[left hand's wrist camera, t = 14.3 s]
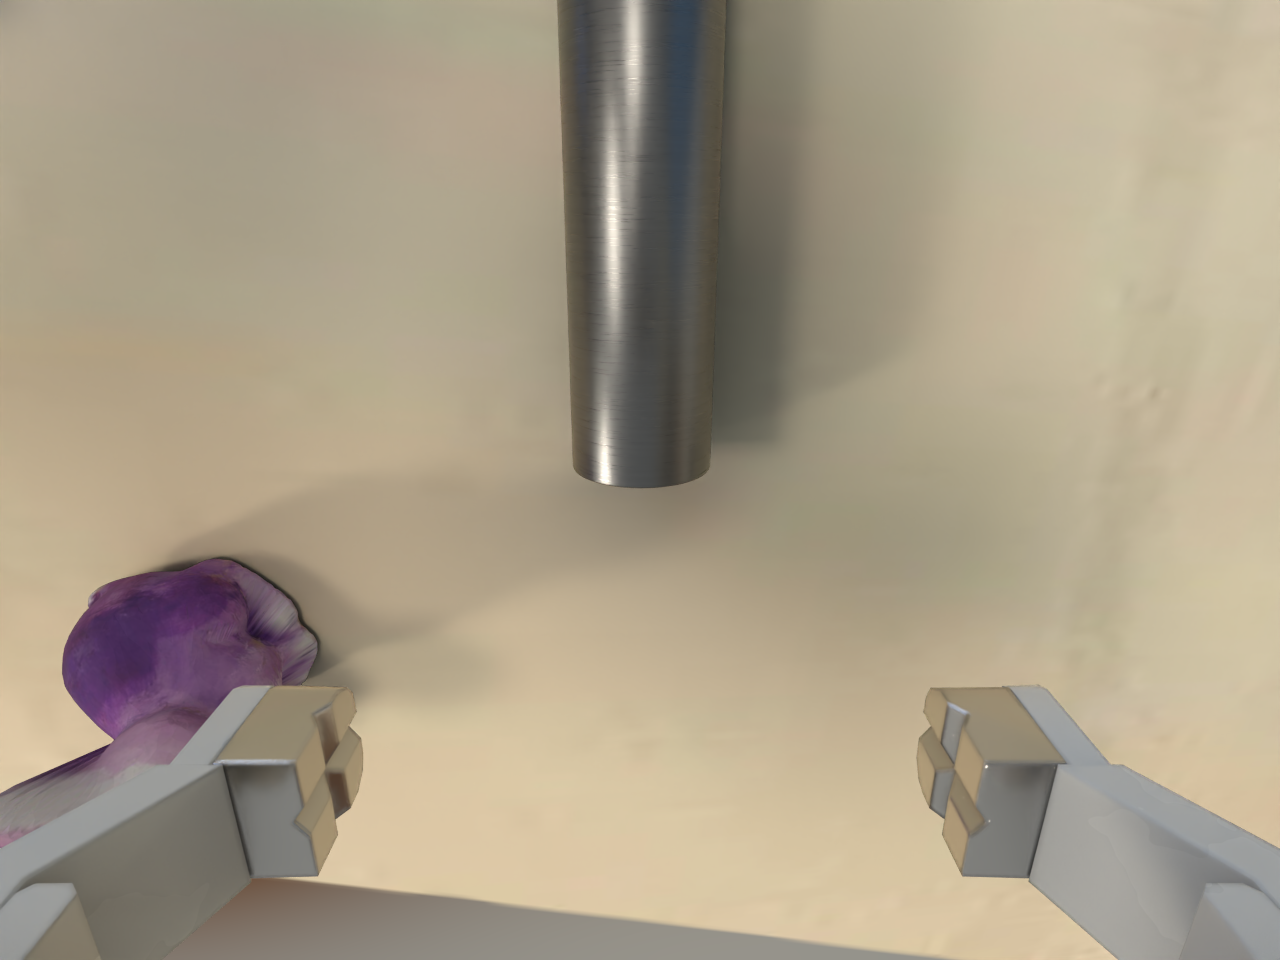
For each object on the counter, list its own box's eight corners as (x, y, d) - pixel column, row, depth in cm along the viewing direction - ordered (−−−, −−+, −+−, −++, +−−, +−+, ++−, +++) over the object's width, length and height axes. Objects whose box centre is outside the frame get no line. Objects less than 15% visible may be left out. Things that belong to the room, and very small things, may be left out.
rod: (704, 443, 35) (715, 488, 30) (579, 443, 36) (566, 488, 30) (728, -292, 26) (751, -430, 20) (556, -291, 26) (532, -429, 20)
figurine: (363, 674, 40) (211, 928, 26) (194, 717, 41) (-41, 984, 27) (286, 520, 37) (64, 715, 23) (105, 571, 38) (-213, 788, 24)
